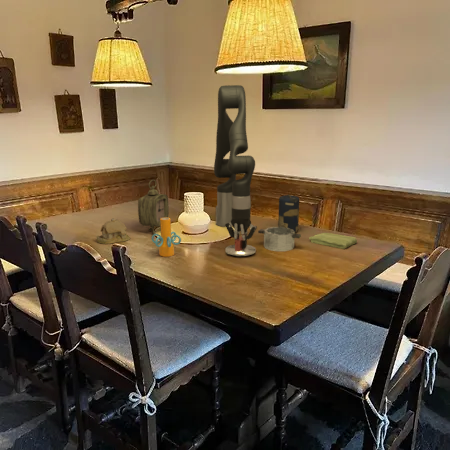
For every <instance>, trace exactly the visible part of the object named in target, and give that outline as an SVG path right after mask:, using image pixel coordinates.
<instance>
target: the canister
mask: <svg viewBox="0 0 450 450" xmlns="http://www.w3.org/2000/svg"><path fill="white" fill-rule="evenodd" d="M299 212H300V197H299V196H296V195H290V194H286V195H282V196H281V195H280V196H279V198H278V224H277V225H278V226H277V227H285V228H290V229H293V230H294V231H295V233H297V232H298V230H299V223H300V222H299V219H300V218H299V217H300V214H299Z"/></svg>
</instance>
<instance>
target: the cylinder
mask: <svg viewBox="0 0 450 450" xmlns="http://www.w3.org/2000/svg"><path fill="white" fill-rule="evenodd" d="M171 220H172V219H171V218H170V217H168V218H161V219H160V223H161V226H160V234H159V233H156V234H154V235H153V234H152V236H151V241H152V242H153V244H155V246H156V247H157V248H158V250H159V252H158V253H159V254H158V255H159V256H160V257H164V258H169V257H172V256H174V255H175V246H178V245H180V244H181V242H182V238H181V236H180V235H178V234H177V233H176V231H172V222H171ZM155 236H157V237H156V239H154V238H155ZM177 238H178V242H175V241H176V239H177Z"/></svg>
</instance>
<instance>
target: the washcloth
mask: <svg viewBox="0 0 450 450" xmlns="http://www.w3.org/2000/svg"><path fill="white" fill-rule="evenodd" d="M308 239H309V241H310V243H312V244H316V245H321V246H325V247H331V248H336V249H341V250H346V248H350V246H353V245H356V244H357V242H358V239H357V238H356V237H354V236H348V235H345V234H336V233H331V232H322V233H318V234H315V235H314V236H313V235H312V236H309V238H308Z"/></svg>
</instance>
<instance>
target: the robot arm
mask: <svg viewBox="0 0 450 450" xmlns="http://www.w3.org/2000/svg"><path fill="white" fill-rule="evenodd" d="M246 96H247V95H246V90H245V87H244V86H243V85H239V84H237V85H233V84H231V85H229V84H227V85H221V86H219V89H218V92H217V126H216V138H215V142H216V143H215V144H216V145H215V157H214V165H213V173H214V176H215V177H216V178H218V179H219V178H220V179H224V178H225V179H228V180H227V181H225V182H223V183H220V184H218V185H217V187H216V192H217V193H216V195H217V196H216V197H217V198H216V199H217V202H216V203H217V205H216V206H215V225H216V226H218V227H222V228H223V227H225V228H226V230H227V232H228V234H229V237H231V238H234V241H235V240H236V239H238V238H239V237H240V236H242V239H243V240H242V249H245V247H246V246H247V245H248V242H247V241H248V240H250V239H251V238H253V236H254V234H255V232H256V230H257V229H258V226H257V225H253V223H252V221H251V211H252V209H251V208H252V207H251V206H252V203H251V201H252V200H251V184H252V179H253V175H254V171H255V167H256V161H255V158H254V157H253V156H252V155H241V154H244V153H246V152H248V149H249V143H248V137H247V136H248V135H247V108H246V107H247V105H246V104H247V103H246V101H247V100H246ZM235 109H237V115H236V117H235V119H234V120H232V119H231V118H230V116H229V115H228V112H227V110H235ZM228 154H229V155H228ZM227 155H228V156H229V157H228V158H225V157H226V156H227ZM237 175H243V177H242V178H239V179H237ZM248 229H249V230H248ZM248 231H249V232H248ZM240 234H241V235H240Z"/></svg>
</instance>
